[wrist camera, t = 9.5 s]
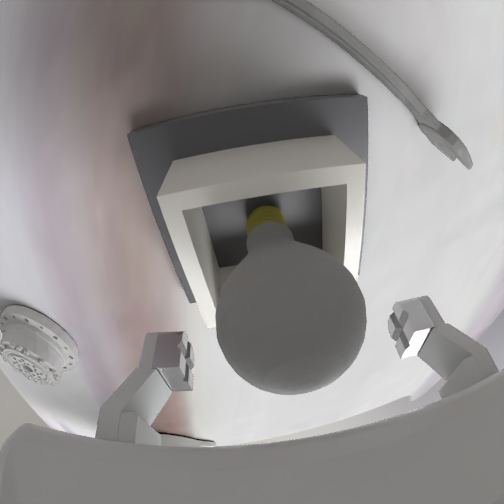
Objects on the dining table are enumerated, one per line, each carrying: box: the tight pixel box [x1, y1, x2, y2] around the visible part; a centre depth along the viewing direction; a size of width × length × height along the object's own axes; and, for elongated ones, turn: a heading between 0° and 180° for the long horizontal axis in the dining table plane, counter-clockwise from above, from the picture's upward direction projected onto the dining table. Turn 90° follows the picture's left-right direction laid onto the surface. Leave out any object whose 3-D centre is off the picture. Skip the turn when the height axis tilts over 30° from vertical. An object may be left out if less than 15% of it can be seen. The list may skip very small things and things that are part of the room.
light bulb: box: [215, 206, 367, 395], centre depth 12 cm, size 5×6×10 cm
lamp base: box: [127, 94, 368, 329], centre depth 15 cm, size 12×12×5 cm
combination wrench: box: [272, 0, 473, 169], centre depth 10 cm, size 4×1×20 cm
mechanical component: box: [0, 305, 79, 386], centre depth 22 cm, size 10×4×10 cm
